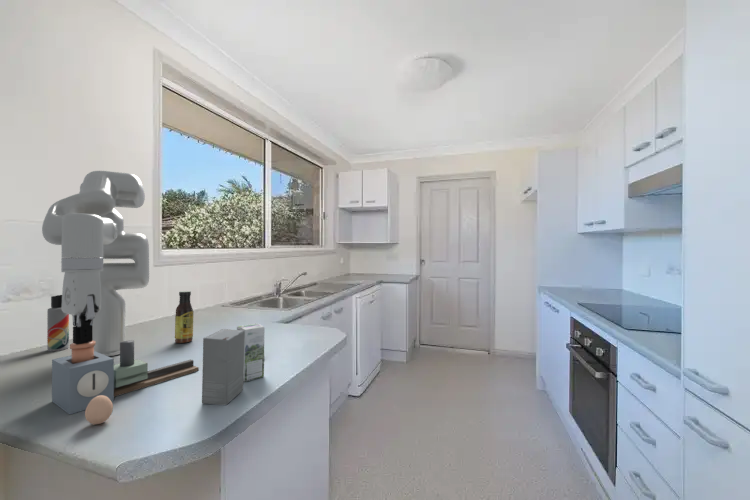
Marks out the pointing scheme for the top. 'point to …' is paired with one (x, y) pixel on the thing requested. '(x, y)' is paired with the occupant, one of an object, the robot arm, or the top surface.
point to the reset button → (82, 352)
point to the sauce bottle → (184, 319)
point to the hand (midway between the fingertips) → (82, 342)
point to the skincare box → (222, 366)
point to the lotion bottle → (57, 326)
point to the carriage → (129, 366)
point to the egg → (99, 409)
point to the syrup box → (253, 351)
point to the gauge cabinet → (81, 381)
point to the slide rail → (159, 376)
